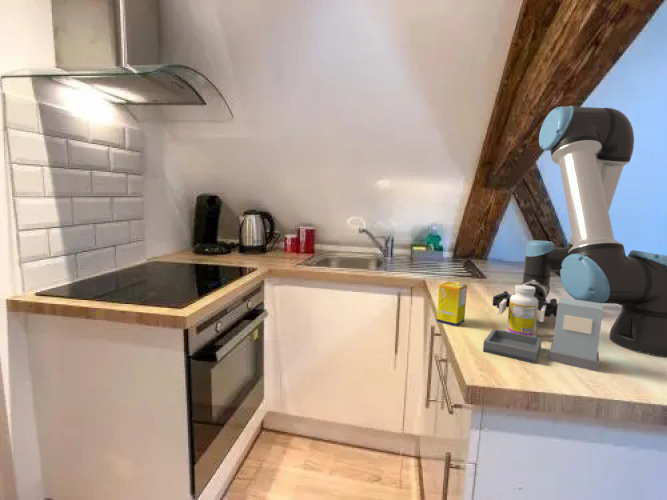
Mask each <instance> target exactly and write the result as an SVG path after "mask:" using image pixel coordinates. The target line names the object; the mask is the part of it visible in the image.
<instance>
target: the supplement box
mask: <svg viewBox="0 0 667 500" xmlns="http://www.w3.org/2000/svg"><path fill="white" fill-rule="evenodd" d="M438 285H439V288H438V301H437V314H436V322H437V323H441V324H446V325H448V326H453V327H458V326H460V325H461V324H463V323H465V316H466V314H465V313H466V304H467V303H466V302H467V290H468V284H465V283H459V282H455V281H446V282H443V283H440V284H438Z"/></svg>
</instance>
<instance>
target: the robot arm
mask: <svg viewBox="0 0 667 500" xmlns="http://www.w3.org/2000/svg"><path fill="white" fill-rule="evenodd" d="M538 144H539V147H540V149H542V150H544V151H546V152H548V151H550V156H551V160H552V161H553V163H555V164H557V165H559V171H560V174H561V182H562V185H563V191H564V192H563V193H564V197H565V198H564V199H565V204H566V205H565V206H566V209H567V215H568V221H569V226H570V233H571V234H570V236H569V237H570V238H569V241H568V244H567V247H555V244H554V242H553V241H550V240H549V241H548V240H538V239H537V240H535V239H534V240H532V239H531V240H529V241H528V242H527V244H526V248H525V253H524V254H525V258H524V270H523V271H524V272H523V276H522V277H523V278H522V284H521V285H527V286H532V287H535V294H534V297H536V298H537V299H538V311H539V312H540V313H539V322H540V323H543V322H544V321H545V319H546V318H550V317H552V316H553V317H555V318H556V315H557V307H558V299H556V298H550V299H548V300H547V297H548V295H550V290H551V286H550V282H551V277H552V276H551V273H552V272H560V275H559V276H560V280H561V283H562V285H563V286H562V287H563V288H564V291H566V293H567V294H568V295H569V296H570V297H572V299H575V300H582V301H588V302H595V303H602V304H615V305H616V304H617V305H621V304H622V305H621V306H622V307H621V310H620V313H618V316H617V318H616V320H615V321H614V323H613V325H612V326H611V327H610V331H609V335H608V337H609V340H610V342H612V343H614V344H617V345H618V346H620V347H623V348H625V349H628V350H631V351H635V352H639V353H642V352H643V354H647V353H649V354H648V355H652V354H654V355H653V356H657V355H661V356H660V357H667V255H665V254H658V253H652V252H646V251H640V250H633V249H632V250H631V251H629V253H628V254H627V255H626V250H625V246H624V244H623V243H622V242H619V241H618V240H616V239H615V236H614V231H613V226H612V222H611V217H610V213H609V212H610V209H611V207H612V206H611V205H612V203H613V199H614V197H615V194H616V190H617V187H618V184H619V181H620V178H621V176H622V172H623V169H624V167H625V166H626V165H628V164H629V163H630V161H631V158H632V156H633V153H634V148H635V134H634V129H633V125H632V123H631V121H630V120H629V118H628V117H627V116H626V114H624V113H623V112H622V111H620V110H618V109H615V108H611V107H588V106H587V107H586V106H573V105H569V106H557V107H555V108H553V109H552V110H551V111H549V113H548V114H547V115H546V117H545V118H544V120H543V122H542V124H541V127H540V131H539V136H538ZM514 294H515V293H514ZM514 294H511V293H510V292H508V291H503V292H502V293H499V294H496V295H495V296H493V297H492V306H493V307H496V308H497V309H498V315H501V316H502V315H503V314H504V312H505V311H506V310H507V308H509V304H510V297H511V296H512V295H514Z"/></svg>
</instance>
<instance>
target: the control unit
mask: <svg viewBox="0 0 667 500" xmlns="http://www.w3.org/2000/svg"><path fill="white" fill-rule="evenodd" d="M557 304H558V307H557V315H556V317H555V326H554V332H553V333H554V334H553V342H551V344H550V348H549V352H548V353H549V355H548V361H550V362H554V363H559V364H562V365H568V366H572V367H577V368H581V369H585V370H589V369H590V370H589V371H593V370H595V371H594V372H599V369H600V368H599V366H600V356H599V351H598V350H599V343H600V337H601V327H602V322H603V321H602V320H603V312H604V307H603V303H595V302H588V301H582V300H575V299H574V298H566V297H560V296H559V298H558V300H557Z"/></svg>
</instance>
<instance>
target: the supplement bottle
mask: <svg viewBox="0 0 667 500" xmlns="http://www.w3.org/2000/svg"><path fill="white" fill-rule="evenodd" d="M514 292H515V293H514V295H513V294H511V295H512V296H511V297H510V304H509V307H508V315H507V317H508V318H507V326H506V328H507V329H506V331H508V332H513V333H518V334H523V335H527V336H532V337H536V329H537V319H538V311H539V310H538V299H537V298H536V297H534V294H535V287H532V286H527V285H522V284H515V287H514Z"/></svg>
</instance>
